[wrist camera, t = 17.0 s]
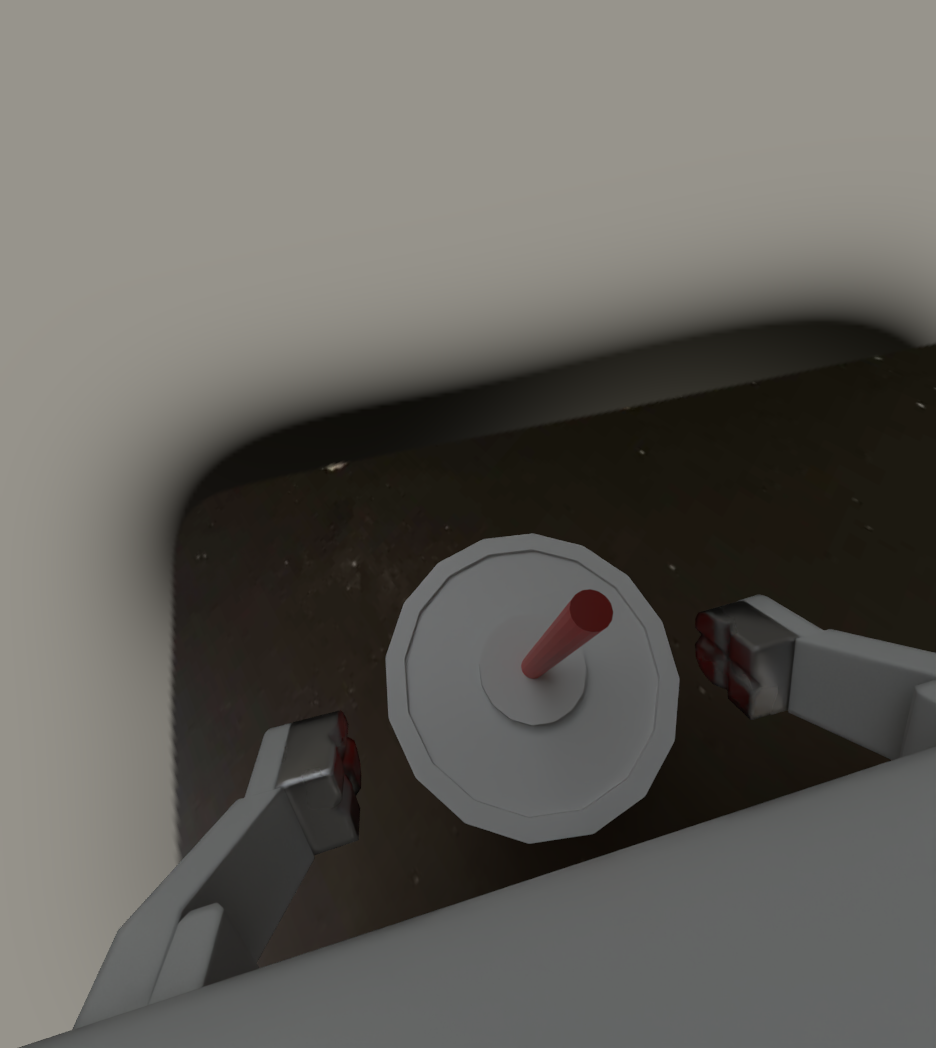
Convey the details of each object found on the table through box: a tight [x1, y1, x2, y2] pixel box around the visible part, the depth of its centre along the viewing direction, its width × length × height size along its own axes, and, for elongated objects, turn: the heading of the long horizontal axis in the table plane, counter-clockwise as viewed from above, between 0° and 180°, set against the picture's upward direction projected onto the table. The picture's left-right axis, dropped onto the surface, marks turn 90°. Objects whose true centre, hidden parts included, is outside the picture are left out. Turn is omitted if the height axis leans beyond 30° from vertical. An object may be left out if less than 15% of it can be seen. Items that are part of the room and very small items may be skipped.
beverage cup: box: [386, 534, 679, 844], centre depth 11 cm, size 6×6×14 cm
